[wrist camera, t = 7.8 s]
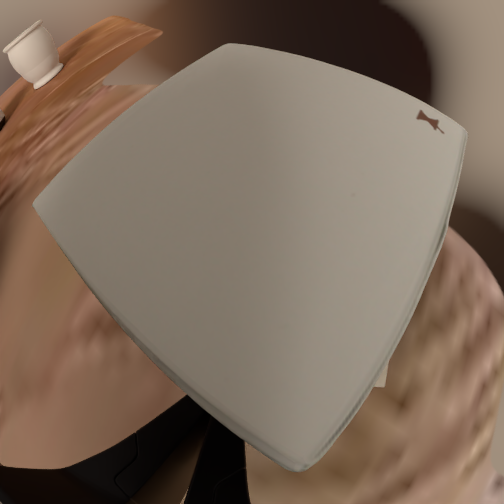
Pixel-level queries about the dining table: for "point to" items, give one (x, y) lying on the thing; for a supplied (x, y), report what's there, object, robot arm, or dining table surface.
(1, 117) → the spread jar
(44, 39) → the jar
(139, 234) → the supplement box
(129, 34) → the dining table surface
